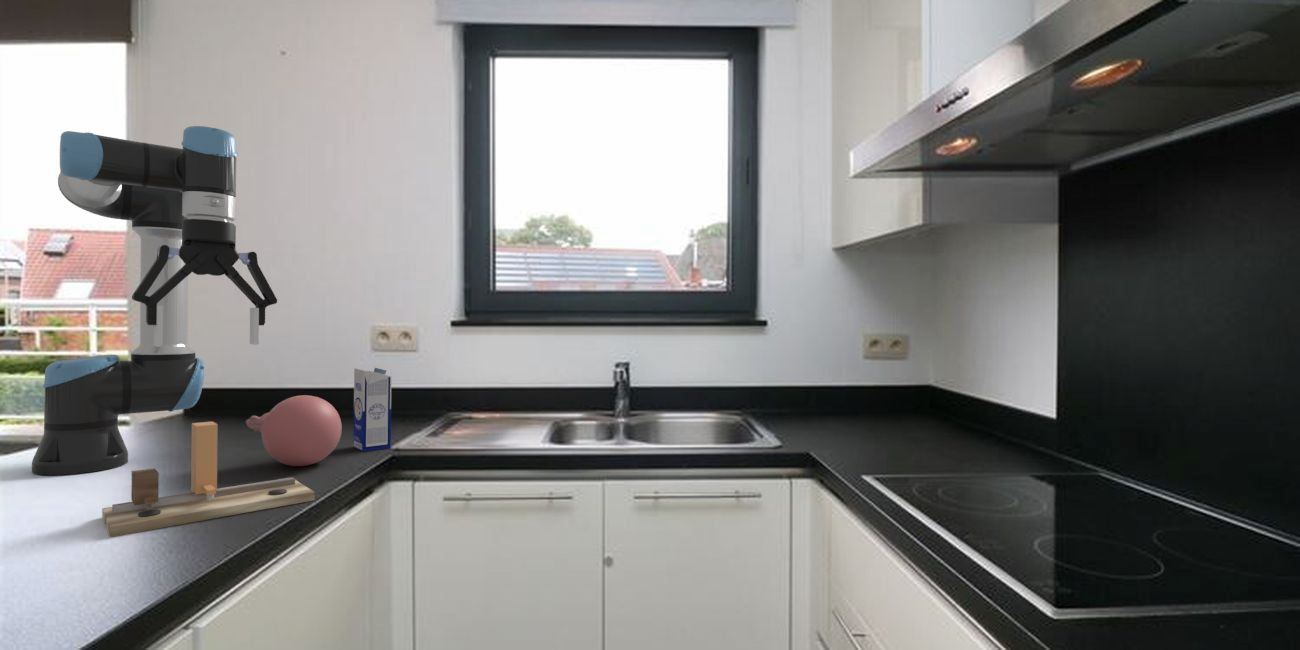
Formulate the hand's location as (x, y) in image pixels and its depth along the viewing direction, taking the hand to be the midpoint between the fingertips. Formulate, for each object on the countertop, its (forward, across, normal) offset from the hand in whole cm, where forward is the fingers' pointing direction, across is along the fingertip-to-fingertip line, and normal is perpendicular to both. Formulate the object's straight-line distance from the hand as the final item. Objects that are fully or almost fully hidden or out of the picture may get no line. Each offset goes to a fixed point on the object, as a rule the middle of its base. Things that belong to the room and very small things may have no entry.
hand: (208, 345), depth 108 cm
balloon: (+28, +20, +23) cm, 41 cm away
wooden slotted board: (+28, +1, -2) cm, 28 cm away
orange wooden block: (+26, 0, -1) cm, 26 cm away
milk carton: (+28, +40, +30) cm, 57 cm away
